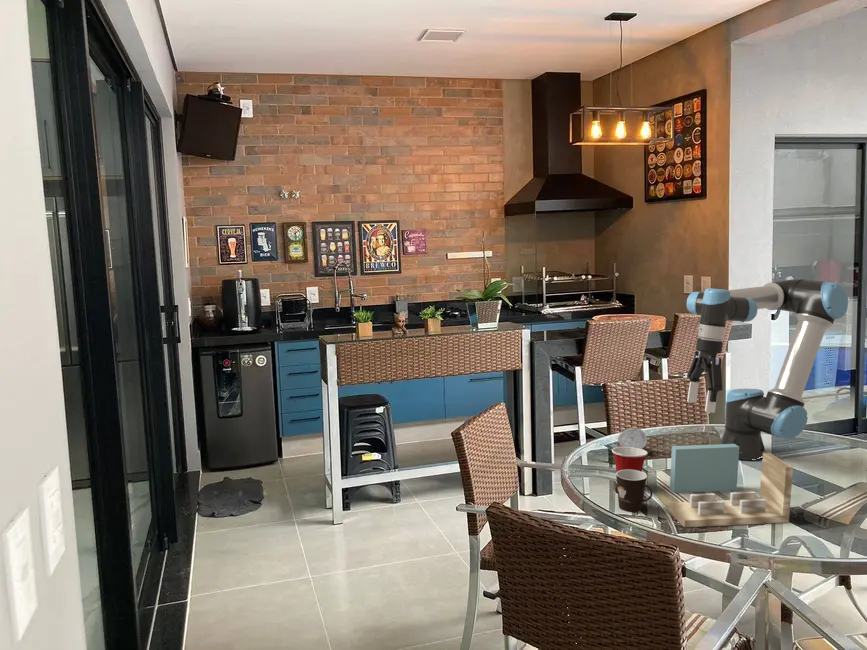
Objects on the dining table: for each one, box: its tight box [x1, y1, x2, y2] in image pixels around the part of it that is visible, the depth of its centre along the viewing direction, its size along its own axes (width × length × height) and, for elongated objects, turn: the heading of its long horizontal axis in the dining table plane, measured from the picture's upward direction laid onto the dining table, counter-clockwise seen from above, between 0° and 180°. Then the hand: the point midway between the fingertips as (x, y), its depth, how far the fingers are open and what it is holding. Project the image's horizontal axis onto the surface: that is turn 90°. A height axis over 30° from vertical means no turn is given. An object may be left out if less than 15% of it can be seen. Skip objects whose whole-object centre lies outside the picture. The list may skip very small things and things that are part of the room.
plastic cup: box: [611, 446, 649, 474], centre depth 231 cm, size 11×11×12 cm
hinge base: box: [666, 452, 794, 528], centre depth 208 cm, size 30×12×16 cm, turn 95°
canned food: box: [616, 427, 648, 451], centre depth 262 cm, size 11×10×10 cm
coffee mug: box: [615, 469, 653, 513], centre depth 214 cm, size 12×9×10 cm
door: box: [669, 443, 740, 494], centre depth 227 cm, size 20×3×14 cm, turn 95°
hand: (700, 407), depth 229 cm, fingers open, 13 cm apart
